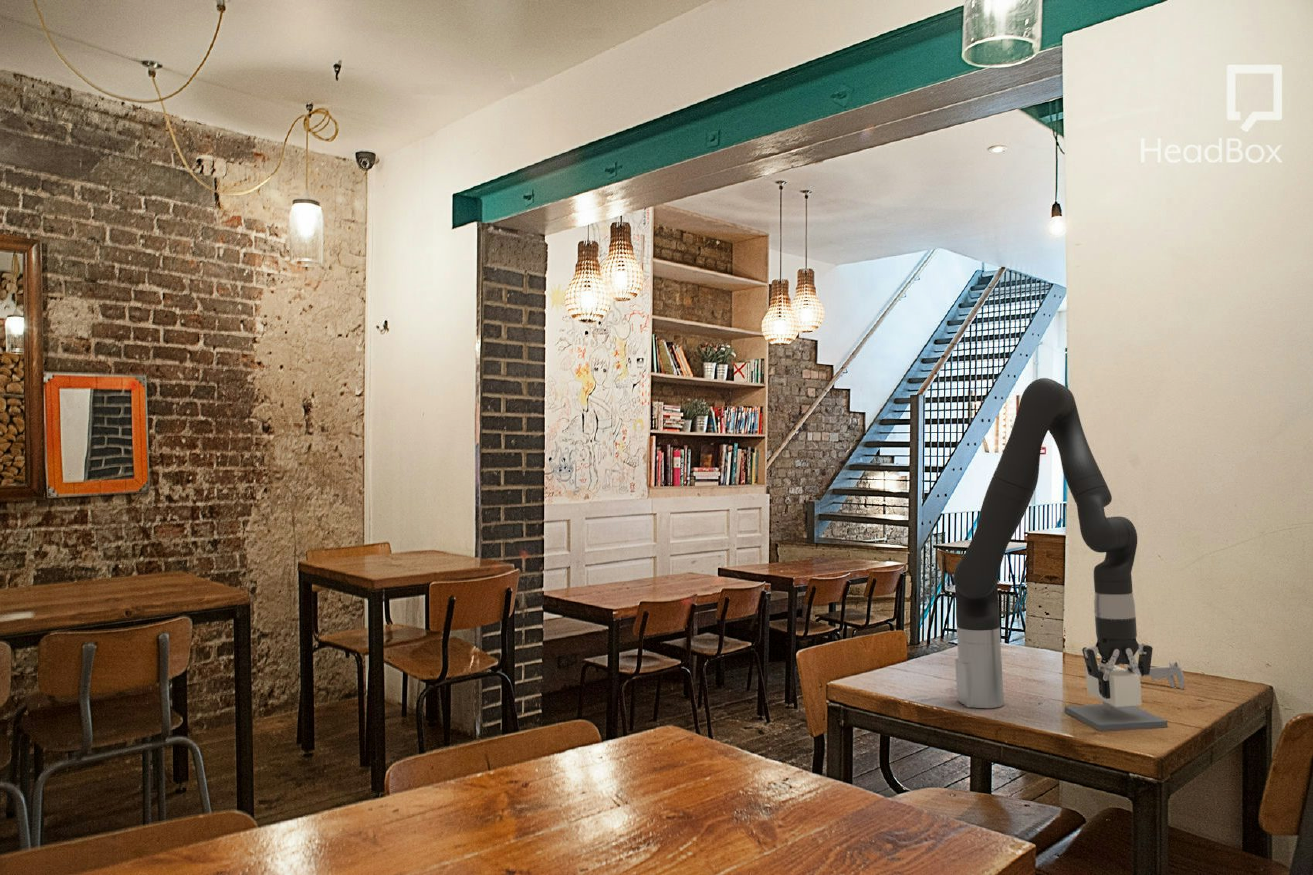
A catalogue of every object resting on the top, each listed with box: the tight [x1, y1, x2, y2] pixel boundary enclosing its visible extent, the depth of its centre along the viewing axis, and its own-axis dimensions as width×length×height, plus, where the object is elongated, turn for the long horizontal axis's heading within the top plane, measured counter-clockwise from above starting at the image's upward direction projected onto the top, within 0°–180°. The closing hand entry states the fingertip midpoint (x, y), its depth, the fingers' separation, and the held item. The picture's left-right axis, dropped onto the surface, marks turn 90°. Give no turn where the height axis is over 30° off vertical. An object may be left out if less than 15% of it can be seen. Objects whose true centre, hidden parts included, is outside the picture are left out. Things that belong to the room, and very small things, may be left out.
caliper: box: [1141, 661, 1185, 690], centre depth 216 cm, size 20×1×6 cm, turn 40°
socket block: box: [1084, 663, 1143, 707], centre depth 189 cm, size 5×11×6 cm, turn 3°
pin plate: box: [1064, 700, 1168, 732], centre depth 188 cm, size 14×14×6 cm
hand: (1120, 696), depth 186 cm, fingers closed on socket block, 5 cm apart
